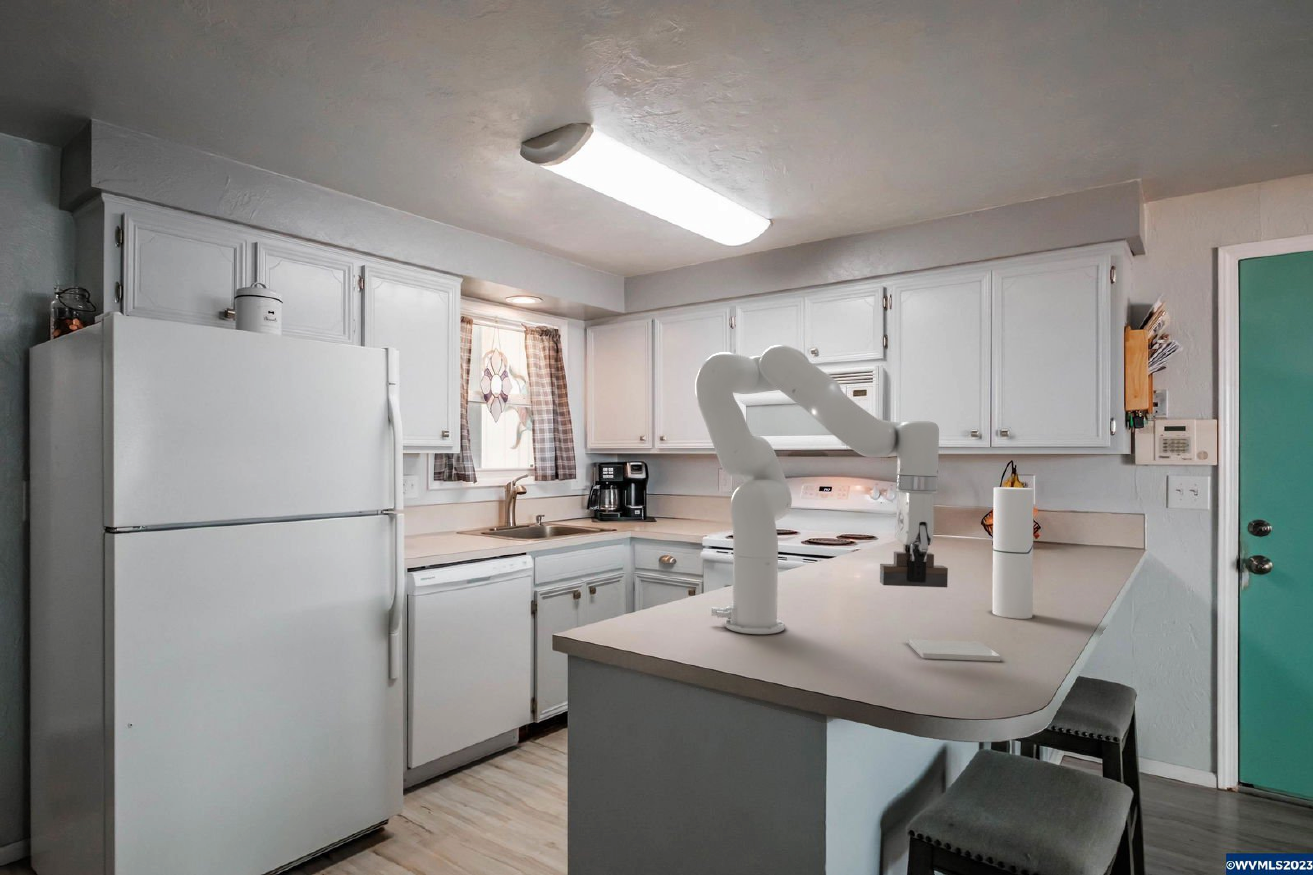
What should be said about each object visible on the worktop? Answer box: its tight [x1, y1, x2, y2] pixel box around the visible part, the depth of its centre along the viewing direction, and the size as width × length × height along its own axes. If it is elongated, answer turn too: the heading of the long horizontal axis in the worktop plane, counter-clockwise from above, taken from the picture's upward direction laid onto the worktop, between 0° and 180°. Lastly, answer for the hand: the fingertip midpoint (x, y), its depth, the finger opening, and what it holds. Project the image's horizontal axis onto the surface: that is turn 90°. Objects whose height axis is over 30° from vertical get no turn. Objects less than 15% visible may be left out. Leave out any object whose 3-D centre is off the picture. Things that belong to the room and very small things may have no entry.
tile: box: [908, 638, 1002, 662], centre depth 142 cm, size 14×10×1 cm
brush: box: [879, 551, 949, 588], centre depth 143 cm, size 12×3×6 cm, turn 86°
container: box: [991, 486, 1035, 620], centre depth 176 cm, size 9×9×30 cm
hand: (913, 579), depth 143 cm, fingers closed on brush, 3 cm apart
